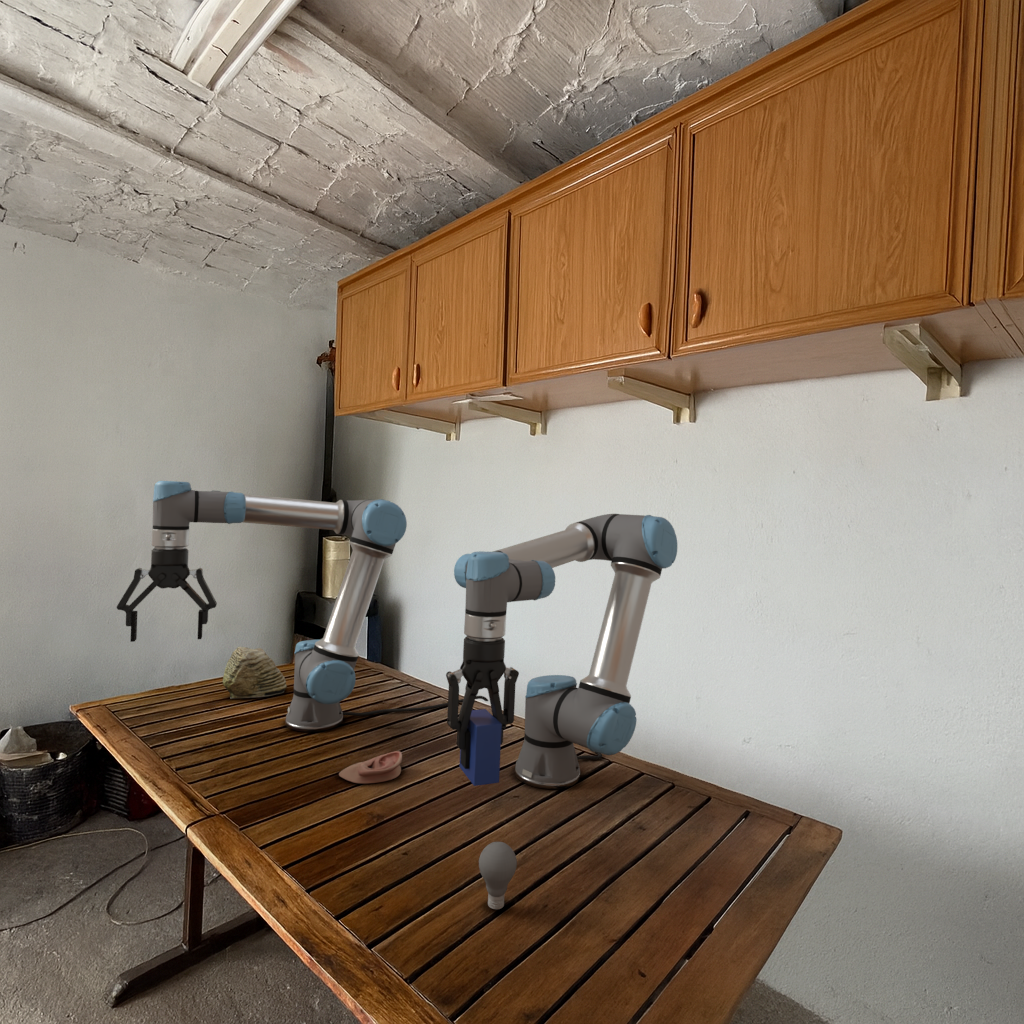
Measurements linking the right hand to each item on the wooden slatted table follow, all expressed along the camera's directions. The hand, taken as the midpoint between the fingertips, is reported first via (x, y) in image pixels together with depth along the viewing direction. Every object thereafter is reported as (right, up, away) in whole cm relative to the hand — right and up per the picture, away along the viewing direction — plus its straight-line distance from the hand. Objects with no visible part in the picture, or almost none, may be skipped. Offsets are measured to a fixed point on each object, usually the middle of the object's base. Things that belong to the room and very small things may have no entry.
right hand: (478, 763), depth 116 cm
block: (0, -2, 0) cm, 2 cm away
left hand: (-74, +16, +31) cm, 82 cm away
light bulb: (+3, -17, -16) cm, 23 cm away
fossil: (-75, -11, +82) cm, 112 cm away
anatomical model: (-26, -14, +30) cm, 43 cm away
